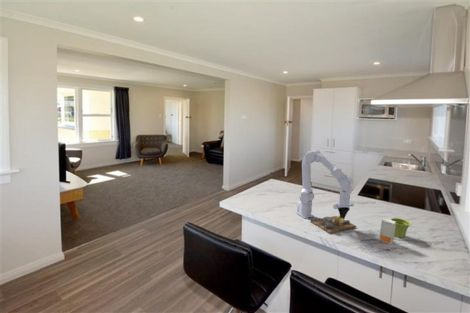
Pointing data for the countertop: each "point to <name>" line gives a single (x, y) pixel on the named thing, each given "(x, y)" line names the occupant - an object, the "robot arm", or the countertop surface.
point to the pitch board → (332, 229)
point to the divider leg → (338, 220)
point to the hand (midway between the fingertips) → (342, 218)
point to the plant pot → (400, 227)
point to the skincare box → (387, 231)
